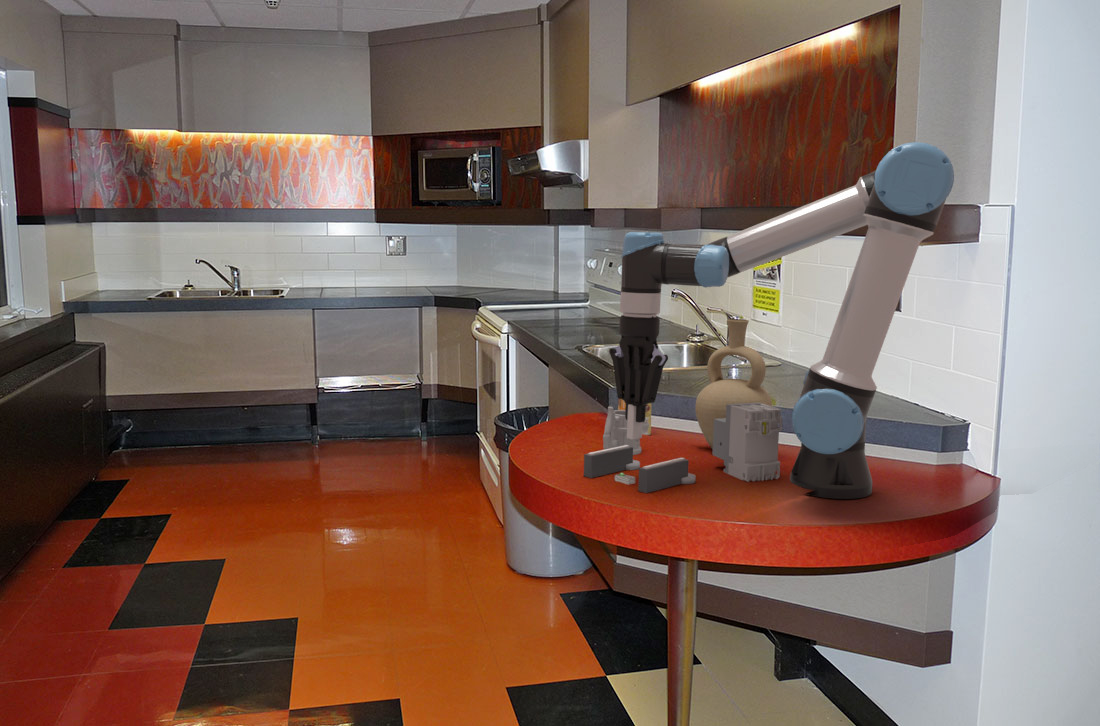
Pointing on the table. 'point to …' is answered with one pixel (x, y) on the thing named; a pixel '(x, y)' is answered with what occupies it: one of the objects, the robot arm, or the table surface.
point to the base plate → (624, 478)
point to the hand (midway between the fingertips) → (634, 437)
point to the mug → (618, 432)
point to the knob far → (609, 461)
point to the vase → (730, 381)
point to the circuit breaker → (749, 441)
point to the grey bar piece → (664, 475)
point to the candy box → (647, 423)
